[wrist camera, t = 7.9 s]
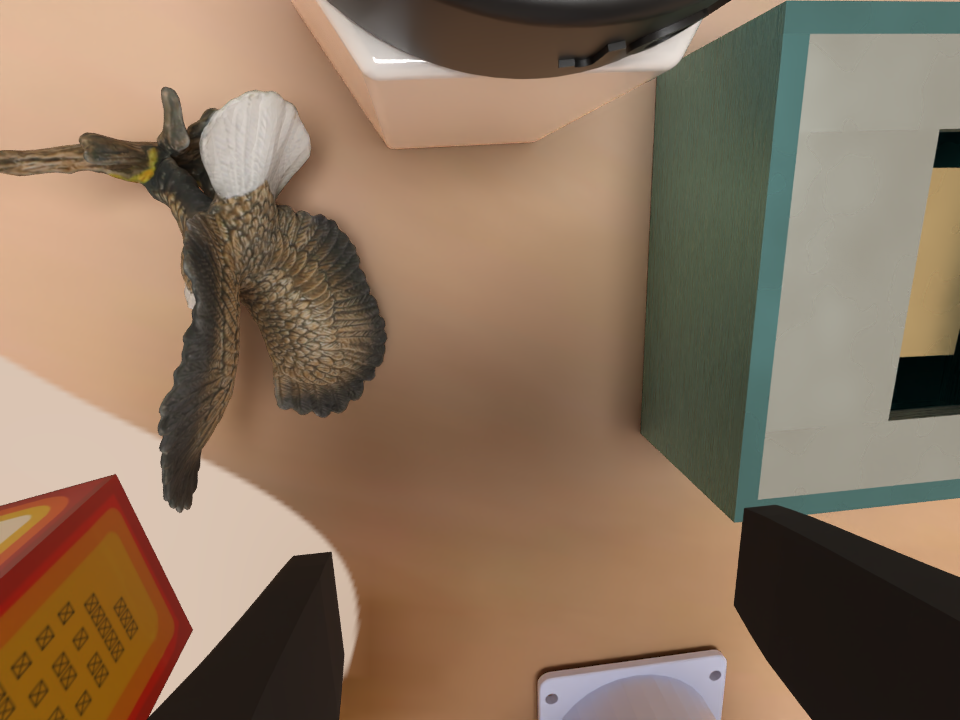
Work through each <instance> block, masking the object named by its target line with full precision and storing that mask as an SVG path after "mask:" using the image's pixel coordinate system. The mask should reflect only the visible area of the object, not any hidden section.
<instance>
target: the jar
mask: <svg viewBox="0 0 960 720" xmlns="http://www.w3.org/2000/svg"><path fill="white" fill-rule="evenodd" d="M729 1H731V0H291V2H292V4H293V5H294V7H295V9H296V10H297V12H298V13H299V15H300V16H301V18H302V19H303V21H304V22H305V24H306V25H307V27H308V28H309V30H310V31H311V33H312V34H313V36H314V37H315V39H316V40H317V42H318V43H319V45H320V46H321V48H322V49H323V51H324V52H325V54H326V55H327V57H328V58H329V60H330V61H331V63H332V64H333V66H334V68H335V69H336V71H337V72H338V74H339V75H340V77H341V78H342V80H343V81H344V83H345V84H346V86H347V87H348V89H349V90H350V92H351V93H352V95H353V96H354V98H355V99H356V101H357V102H358V104H359V105H360V107H361V108H362V110H363V111H364V113H365V114H366V116H367V117H368V119H369V120H370V122H371V123H372V125H373V126H374V128H375V129H376V131H377V132H378V134H379V135H380V137H381V139H382V140H383V142H384V143H385V144H386V146H388V147H389V148H391V149H407V148H427V147H447V146H467V145H487V144H508V143H528V142H536V141H538V140H540V139H541V138H543V137H545V136H547V135H549V134H551V133H553V132H555V131H556V130H558V129H560V128H562V127H564V126H566V125H568V124H570V123H571V122H573V121H575V120H577V119H579V118H581V117H583V116H584V115H586V114H588V113H590V112H592V111H594V110H596V109H598V108H599V107H601V106H603V105H605V104H607V103H609V102H611V101H612V100H614V99H616V98H618V97H620V96H622V95H624V94H626V93H627V92H629V91H631V90H633V89H635V88H637V87H639V86H641V85H642V84H644V83H646V82H648V81H650V80H652V79H654V78H656V77H657V76H659V75H661V74H663V73H665V72H667V71H669V70H671V69H672V68H674V67H675V66H676V65H677V64H678V63H679V62H680V60H681V59H682V57H683V56H684V54H685V52H686V50H687V48H688V46H689V44H690V42H691V40H692V38H693V36H694V35H695V33H696V31H697V29H698V27H699V25H700V23H701V21H702V19H703V18H705V17H706V16H708V15H709V14H711V13H712V12H714V11H715V10H717V9H718V8H720V7H721V6H723V5H725V4H726V3H728V2H729Z"/></svg>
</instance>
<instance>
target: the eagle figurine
mask: <svg viewBox="0 0 960 720" xmlns="http://www.w3.org/2000/svg"><path fill="white" fill-rule="evenodd" d="M161 98H162V103H163V108H164V125H163V131H162V132H161V134H160V135H159V137H158V138H157V142H130V141H124V140H117V139H114V138H110V137H106V136H103V135H99V134H96V133H84V134H83V135H82V136H80V138H79V142H80V144H76V145H66V146H59V147H53V148H46V149H39V150H27V151H15V150H1V151H0V173H5V174H10V175H16V176H26V175H34V174H43V173H54V172H57V173H68V174H72V173H75V172H78V171H94V172H99V173H105V174H108V175H110V176H112V177H115V178H119V179H122V180H126V181H129V182H135V183H141V184H143V185H144V186H145V187H146V189H147V190H148V192H149V193H150V194H151V195H152V197H153V198H154V199H156V200H158V201H160V202H162V203H164V204H166V205H167V206H168V207H169V208H170V209H171V212H172V214H173V216H174V217H175V219H176V221H177V223H178V225H179V228H180V231H181V233H182V236H183V243H184V247H183V251H182V253H181V273H182V276H183V279H184V281H185V290H184V293H185V297H186V300H187V304H188V308H190V309H192V319H193V320H192V324H191V326H190V327H189V328H188V329H187V331H186V332H185V334H184V336H183V342H184V347H183V351H182V362H181V364H180V366H179V367H178V368H177V369H176V370H175V371H174V374H173V376H174V386H173V388H172V389H171V391H170V392H169V393H168V394H167V395H166V396H165V398H164V400H163V402H162V403H161V406H160V408H159V413H160V415H161V420H160V422H159V424H158V433H159V435H161V436H163V438H162V441H161V443H160V447H159V449H160V451H161V452H162V456H161V468H162V483H163V494H164V495H163V497H164V500H165V501H168V502H169V505H170V507H171V508H173V509H174V508H176V510H177V512H179V513H181V512H182V510H183V509H184V508H185V509H186V510H188V509H190V507H191V505H192V495H193V493H194V492H195V490H196V488H197V482H198V479H197V478H198V477H197V476H198V471H199V468H200V455H201V450H202V448H203V447H204V446H205V444H206V443H207V441H208V440H209V438H210V436H211V435H212V433H213V432H214V430H215V428H216V426H217V424H218V423H219V422H220V420H221V418H222V416H223V413H224V411H225V409H226V407H227V405H228V402H229V400H230V399H231V397H232V393H233V388H234V381H235V376H236V369H237V363H238V356H239V347H240V346H239V342H240V341H239V337H240V331H239V330H240V323H239V322H240V319H239V318H240V312H241V309H240V301H241V302H242V303H243V304H244V305H245V307H246V308H247V309H248V311H249V312H250V314H251V315H252V317H253V319H254V320H255V321H256V323H257V324H258V326H259V328H260V330H261V333H262V336H263V338H264V340H265V343H266V347H267V350H268V352H269V355H270V358H271V360H272V362H273V376H274V377H273V380H274V385H275V397H276V400H277V405H278V406H279V408H281V409H284V410H287V409H289V408H293V409H294V410H295V411H297V412H298V413H299V414H300V415H305V414H308V413H309V412H311V411H313V412H314V413H315V414H316V415H317V416H319V417H324V418H325V417H327V416H328V415H329V414H330V413H331V411H332V412H335V413H342V412H343V411H344V410H345V409H346V408H347V405H348V402H349V401H350V400H354V401H355V400H358V399H359V398H360V397H361V395H362V393H363V387H364V386H363V381H364V380H367V381H371V380H372V379H373V378H374V377H375V367H378V366H380V365H381V363H382V362H383V355H384V352H385V346H384V343H385V341H386V339H387V336H386V333H385V331H384V327H385V321H384V319H383V318H382V317H380V316H379V309H378V306H377V302H376V299H375V298H374V297H373V296H372V295H370V294H369V291H370V287H369V285H368V284H367V282H366V277H365V275H364V273H363V271H362V270H361V269H360V268H359V263H360V259H359V257H358V256H357V254H356V248H355V246H354V245H353V244H352V243H351V242H350V240H349V238H348V237H347V235H346V234H345V233H343V232H341V231H340V230H339V229H338V226H337V224H336V222H335V221H333V220H331V219H330V220H327V218H326V217H325V216H323V215H322V214H318V215H316V216H311V215H310V214H308V213H307V212H305V211H299V212H297V213H295V212H294V211H293V210H292V208H291V207H289V206H287V205H276V202H275V200H276V198H277V196H278V195H279V193H280V192H281V191H282V189H283V188H284V186H285V185H286V184H287V183H288V182H289V180H290V179H291V178H292V176H293V175H294V174H295V173H296V172H297V171H298V170H299V169H300V168H301V167H302V166H303V164H304V163H305V162H306V161H307V159H308V158H309V156H310V153H311V143H310V137H309V134H308V132H307V131H306V129H305V127H304V125H303V123H302V122H301V120H300V118H299V115H298V111H297V109H296V108H295V106H294V105H293V104H292V103H290V102H288V101H285V100H284V99H283V98H282V97H281V96H280V95H279V94H277V93H276V92H273V91H269V92H263V91H258V90H253V91H248V92H246V93H244V94H242V95H241V96H239V97H238V98H235V99H232V100H230V101H229V102H228V103H227V104H226V105H225V106H223V107H222V108H221V109H220V110H218V109H216V108H210V109H208V110H206V111H205V112H204V113H203V115H202V116H201V118H200V120H198V121H197V122H195V123H193V124H191V125H190V126H189V127H188V129H187V130H186V128H185V125H184V122H183V116H182V109H181V104H180V100H179V97H178V95H177V94H176V92H175V91H174V90H173V89H171V88H168V87H163V88H162V90H161ZM198 186H199V187H201V188H202V190H203V191H204V193H203V192H202V191H201V190H200V189H199V187H198Z"/></svg>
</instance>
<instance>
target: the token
mask: <svg viewBox="0 0 960 720" xmlns="http://www.w3.org/2000/svg"><path fill="white" fill-rule="evenodd" d="M959 329H960V168H933V170H932V176H931V181H930V187H929V193H928V198H927V204H926V210H925V215H924V221H923V227H922V232H921V238H920V244H919V249H918V255H917V261H916V266H915V272H914V278H913V283H912V289H911V295H910V300H909V306H908V312H907V317H906V323H905V329H904V334H903V340H902V346H901V351H900V357H913V356H934V355H954V351H955V347H956V342H957V338H958V334H959Z"/></svg>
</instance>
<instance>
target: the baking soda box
mask: <svg viewBox="0 0 960 720" xmlns="http://www.w3.org/2000/svg"><path fill="white" fill-rule="evenodd" d="M192 631H193V629H192V627H191V625H190V624H189V621H188V619H187V617H186V615H185V613H184V611H183V609H182V607H181V605H180V603H179V601H178V599H177V597H176V595H175V593H174V591H173V589H172V587H171V585H170V583H169V581H168V579H167V577H166V575H165V573H164V571H163V569H162V566H161V565H160V562H159V560H158V558H157V556H156V554H155V552H154V550H153V548H152V546H151V544H150V542H149V540H148V538H147V536H146V535H145V532H144V530H143V528H142V526H141V524H140V522H139V520H138V518H137V516H136V514H135V512H134V510H133V508H132V506H131V504H130V502H129V500H128V497H127V496H126V493H125V491H124V489H123V488H122V485H121V483H120V481H119V479H118V477H117V475H116V474H114V475H111V476H107V477H104V478H100V479H96V480H93V481H89V482H86V483H82V484H78V485H75V486H71V487H68V488H64V489H60V490H56V491H53V492H49V493H46V494H42V495H38V496H35V497H32V498H27V499H24V500H20V501H17V502H13V503H9V504H6V505H2V506H0V720H146V719H147V718H148V717H149V715H150V713H151V711H152V709H153V707H154V705H155V703H156V701H157V699H158V697H159V695H160V693H161V691H162V689H163V688H164V686H165V683H166V682H167V680H168V677H169V676H170V674H171V672H172V670H173V668H174V666H175V664H176V662H177V660H178V658H179V656H180V654H181V652H182V650H183V648H184V646H185V644H186V642H187V640H188V638H189V637H190V635H191V632H192Z"/></svg>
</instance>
